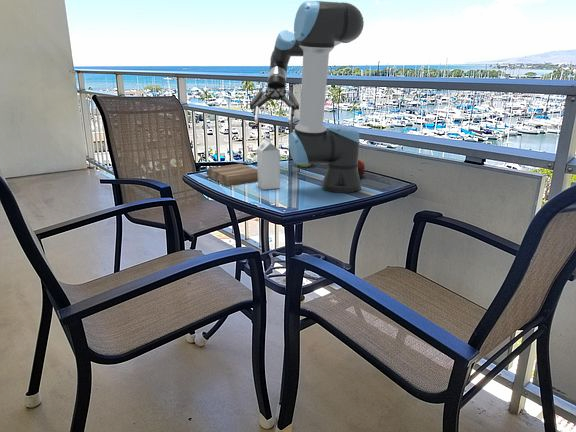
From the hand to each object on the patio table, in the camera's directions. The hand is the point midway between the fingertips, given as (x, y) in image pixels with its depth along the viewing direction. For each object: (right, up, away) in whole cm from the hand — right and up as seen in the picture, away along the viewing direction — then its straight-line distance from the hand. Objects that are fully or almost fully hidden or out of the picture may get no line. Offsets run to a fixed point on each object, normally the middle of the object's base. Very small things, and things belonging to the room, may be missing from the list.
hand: (272, 121), depth 168 cm
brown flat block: (-16, -22, +9) cm, 29 cm away
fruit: (+35, -21, +12) cm, 42 cm away
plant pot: (+14, -14, +34) cm, 39 cm away
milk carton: (-1, -27, -3) cm, 27 cm away
